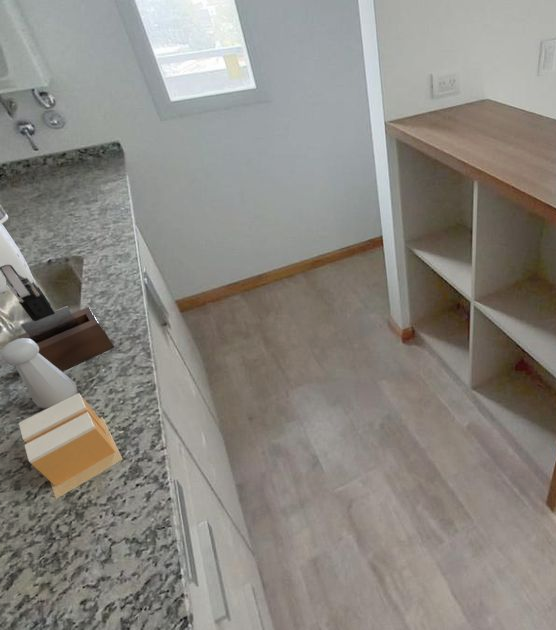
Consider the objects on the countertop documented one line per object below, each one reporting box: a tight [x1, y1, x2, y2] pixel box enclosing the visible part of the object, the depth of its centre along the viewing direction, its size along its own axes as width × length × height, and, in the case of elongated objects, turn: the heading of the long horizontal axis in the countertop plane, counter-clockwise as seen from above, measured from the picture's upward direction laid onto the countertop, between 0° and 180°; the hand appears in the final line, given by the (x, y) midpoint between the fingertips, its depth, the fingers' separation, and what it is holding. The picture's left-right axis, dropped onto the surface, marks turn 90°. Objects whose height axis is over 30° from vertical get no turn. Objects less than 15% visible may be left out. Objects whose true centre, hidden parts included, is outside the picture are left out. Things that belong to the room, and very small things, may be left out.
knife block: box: [18, 306, 115, 373], centre depth 81 cm, size 11×7×6 cm, turn 134°
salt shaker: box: [0, 338, 78, 410], centre depth 69 cm, size 6×6×13 cm
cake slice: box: [23, 412, 115, 486], centre depth 61 cm, size 8×4×6 cm, turn 134°
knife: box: [19, 281, 79, 344], centre depth 78 cm, size 7×2×14 cm, turn 134°
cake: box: [18, 392, 123, 500], centre depth 62 cm, size 8×11×7 cm
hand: (42, 312), depth 77 cm, fingers closed on knife, 2 cm apart
